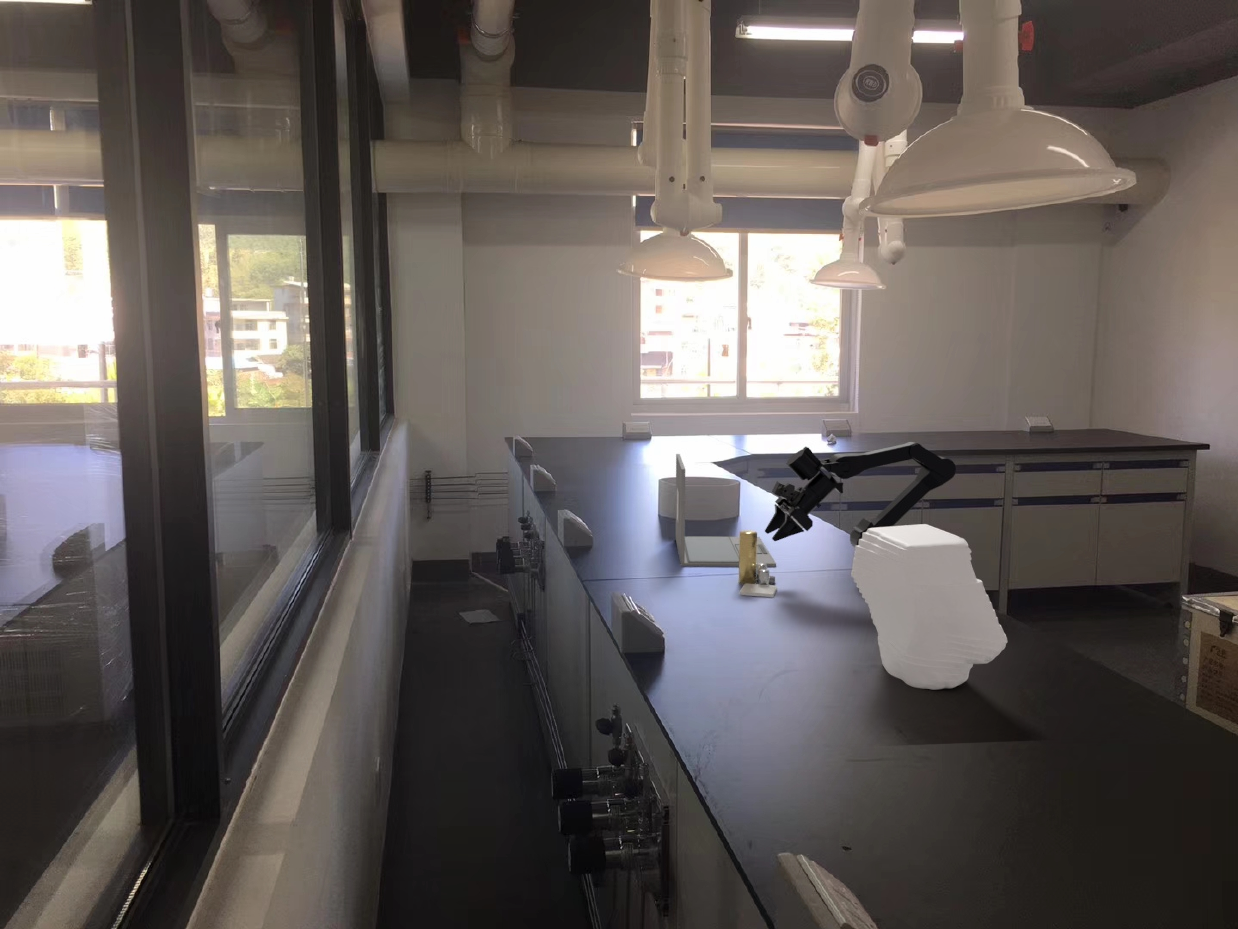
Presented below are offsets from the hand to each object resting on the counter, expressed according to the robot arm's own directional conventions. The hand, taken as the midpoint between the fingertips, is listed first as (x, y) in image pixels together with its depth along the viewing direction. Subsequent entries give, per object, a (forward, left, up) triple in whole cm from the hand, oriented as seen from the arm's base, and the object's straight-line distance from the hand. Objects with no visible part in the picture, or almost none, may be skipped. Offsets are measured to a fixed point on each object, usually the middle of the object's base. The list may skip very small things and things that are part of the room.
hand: (769, 536), depth 234 cm
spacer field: (+3, +1, -12) cm, 12 cm away
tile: (+1, +10, -12) cm, 15 cm away
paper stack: (-35, +59, -12) cm, 70 cm away
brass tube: (+5, +2, -12) cm, 13 cm away
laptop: (+17, -31, -13) cm, 37 cm away
